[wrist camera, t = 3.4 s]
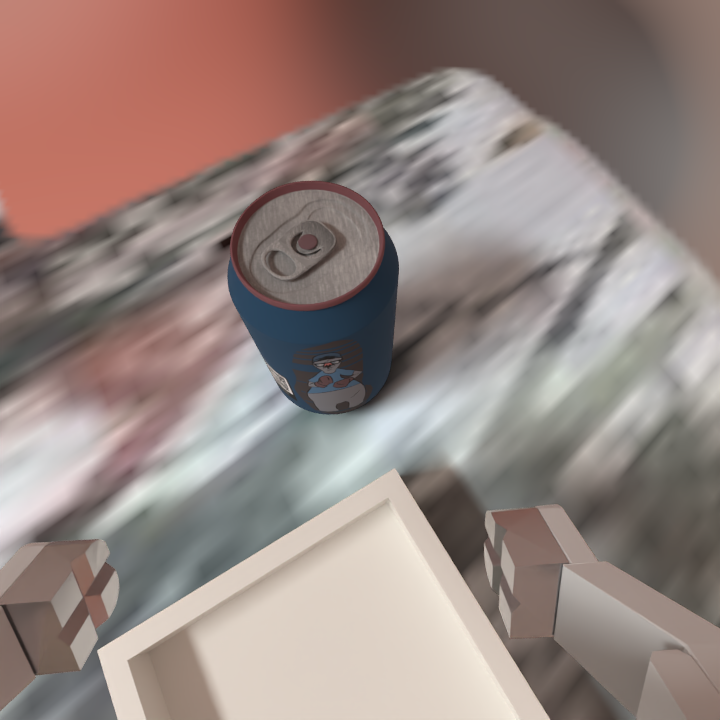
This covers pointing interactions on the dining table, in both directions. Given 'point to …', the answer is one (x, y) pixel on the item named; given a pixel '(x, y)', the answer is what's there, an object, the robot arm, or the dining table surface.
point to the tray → (326, 631)
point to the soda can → (317, 292)
